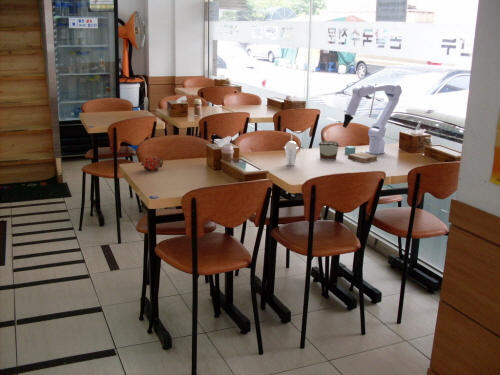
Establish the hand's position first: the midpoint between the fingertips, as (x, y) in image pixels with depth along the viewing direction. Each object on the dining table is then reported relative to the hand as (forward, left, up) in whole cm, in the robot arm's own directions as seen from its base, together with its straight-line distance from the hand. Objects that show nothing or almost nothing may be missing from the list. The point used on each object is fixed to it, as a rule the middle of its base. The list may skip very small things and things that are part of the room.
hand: (344, 126), depth 325 cm
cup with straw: (+42, +1, -18) cm, 46 cm away
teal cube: (-8, -1, -18) cm, 20 cm away
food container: (+12, 0, -18) cm, 22 cm away
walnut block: (-4, +13, -18) cm, 23 cm away
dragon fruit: (+113, -30, -18) cm, 118 cm away
